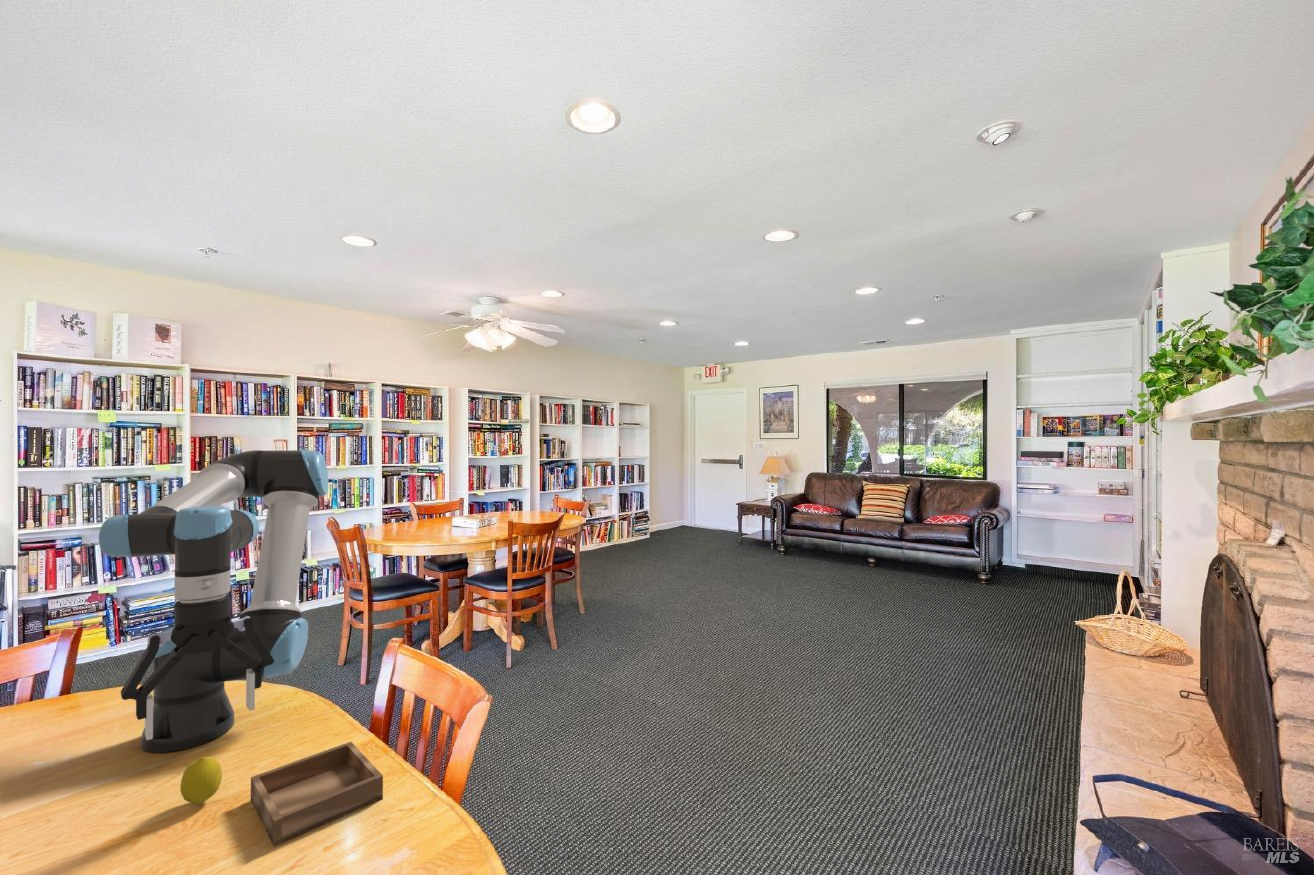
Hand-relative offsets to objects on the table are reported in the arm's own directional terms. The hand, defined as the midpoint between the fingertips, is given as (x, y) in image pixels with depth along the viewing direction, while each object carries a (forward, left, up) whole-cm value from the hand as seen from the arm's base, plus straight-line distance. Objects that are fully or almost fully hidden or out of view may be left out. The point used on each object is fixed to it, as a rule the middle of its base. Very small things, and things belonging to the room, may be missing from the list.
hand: (202, 721), depth 96 cm
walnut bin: (+13, +14, -14) cm, 24 cm away
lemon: (0, 0, -14) cm, 14 cm away
